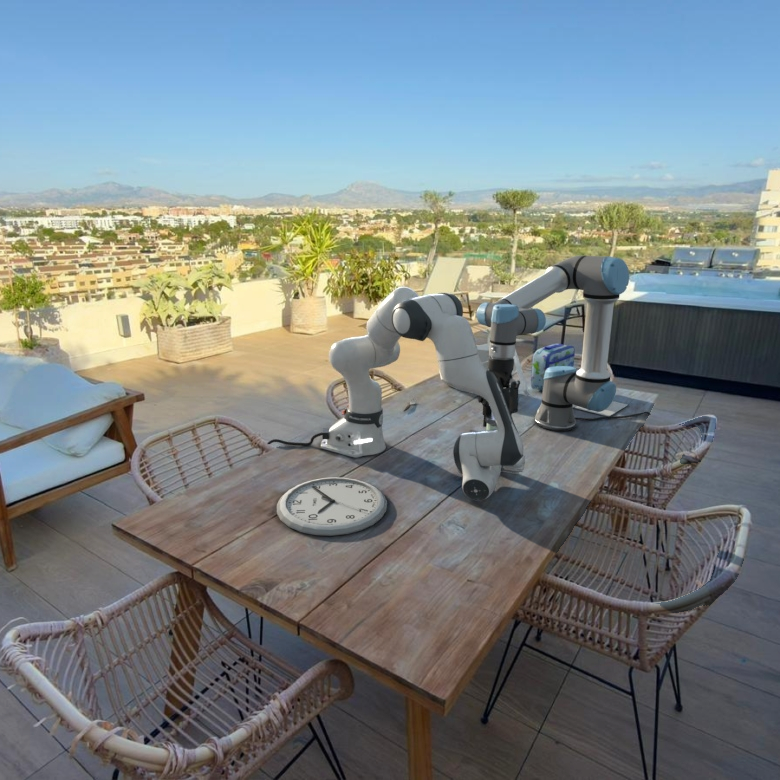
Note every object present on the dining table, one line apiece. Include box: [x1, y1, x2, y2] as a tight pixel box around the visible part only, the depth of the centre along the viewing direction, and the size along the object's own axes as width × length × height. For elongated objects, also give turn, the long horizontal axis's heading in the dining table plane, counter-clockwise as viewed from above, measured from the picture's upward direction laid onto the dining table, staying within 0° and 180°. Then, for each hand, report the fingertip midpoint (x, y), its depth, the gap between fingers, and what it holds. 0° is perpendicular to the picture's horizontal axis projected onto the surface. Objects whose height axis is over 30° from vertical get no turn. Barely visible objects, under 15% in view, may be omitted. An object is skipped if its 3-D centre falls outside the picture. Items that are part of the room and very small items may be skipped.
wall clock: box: [276, 476, 388, 537], centre depth 142 cm, size 30×2×30 cm
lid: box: [485, 413, 497, 425], centre depth 161 cm, size 7×7×2 cm
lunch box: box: [530, 343, 576, 391], centre depth 249 cm, size 26×11×21 cm, turn 134°
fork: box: [403, 396, 419, 412], centre depth 222 cm, size 3×16×2 cm, turn 160°
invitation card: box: [573, 400, 629, 417], centre depth 226 cm, size 21×1×15 cm
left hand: (494, 448), depth 165 cm, fingers closed on jar, 5 cm apart
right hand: (495, 429), depth 162 cm, fingers closed on lid, 6 cm apart
